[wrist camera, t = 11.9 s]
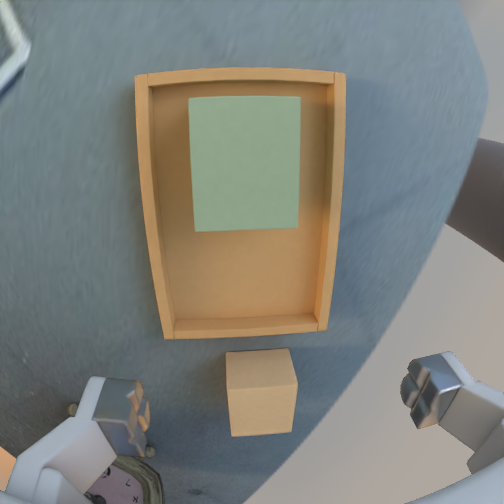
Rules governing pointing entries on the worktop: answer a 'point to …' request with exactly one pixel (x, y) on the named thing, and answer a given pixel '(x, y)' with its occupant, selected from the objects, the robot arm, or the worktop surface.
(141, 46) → the worktop surface
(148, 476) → the tabletop clock
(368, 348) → the worktop surface
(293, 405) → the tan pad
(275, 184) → the sage pad
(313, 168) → the tray
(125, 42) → the worktop surface
